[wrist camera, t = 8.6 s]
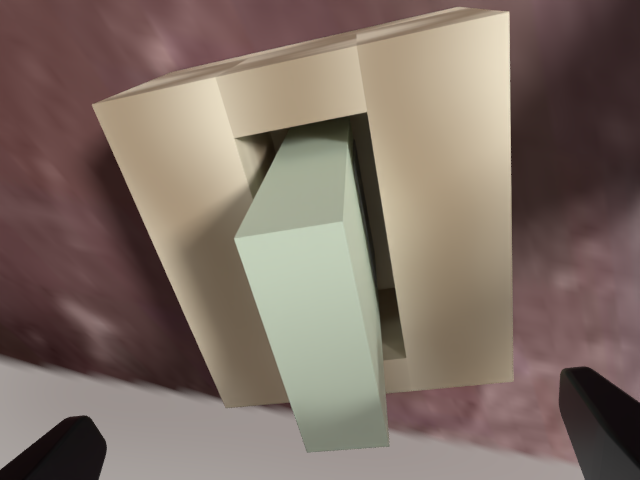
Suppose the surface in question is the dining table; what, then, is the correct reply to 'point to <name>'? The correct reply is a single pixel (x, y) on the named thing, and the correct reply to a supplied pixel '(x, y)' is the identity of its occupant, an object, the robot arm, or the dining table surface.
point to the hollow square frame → (378, 183)
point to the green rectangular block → (319, 286)
